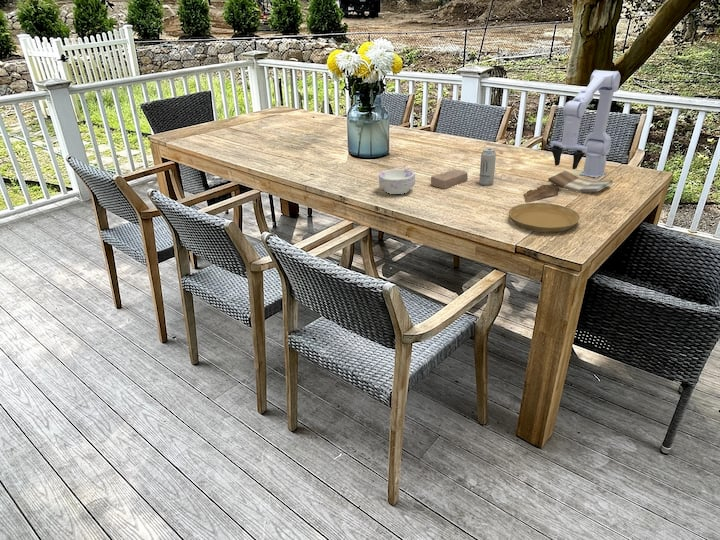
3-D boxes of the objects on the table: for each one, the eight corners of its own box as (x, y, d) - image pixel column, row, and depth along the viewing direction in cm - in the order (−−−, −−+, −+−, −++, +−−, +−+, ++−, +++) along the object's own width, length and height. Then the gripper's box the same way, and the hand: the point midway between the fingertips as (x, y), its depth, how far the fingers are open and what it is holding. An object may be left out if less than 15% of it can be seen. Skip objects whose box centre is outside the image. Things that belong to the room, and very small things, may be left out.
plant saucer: (509, 208, 198) (510, 200, 196) (576, 212, 191) (577, 204, 190) (506, 233, 178) (507, 224, 176) (581, 239, 171) (582, 229, 170)
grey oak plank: (595, 184, 217) (595, 181, 217) (612, 182, 212) (612, 179, 212) (580, 192, 209) (579, 189, 209) (597, 191, 204) (597, 188, 203)
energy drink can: (476, 184, 223) (478, 150, 216) (484, 180, 227) (486, 147, 220) (488, 187, 219) (491, 152, 212) (496, 183, 223) (499, 149, 216)
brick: (453, 177, 234) (454, 167, 232) (468, 181, 228) (469, 170, 226) (429, 186, 224) (430, 176, 222) (444, 190, 219) (445, 180, 217)
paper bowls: (373, 189, 223) (373, 171, 219) (405, 183, 228) (405, 166, 224) (388, 200, 211) (387, 181, 207) (421, 194, 215) (421, 175, 212)
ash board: (579, 180, 222) (579, 177, 222) (595, 183, 218) (595, 180, 217) (563, 188, 214) (563, 185, 213) (579, 192, 209) (579, 189, 209)
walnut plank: (562, 188, 214) (563, 186, 213) (547, 180, 218) (548, 178, 217) (578, 180, 223) (579, 177, 222) (564, 172, 226) (565, 170, 225)
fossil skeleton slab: (547, 183, 221) (547, 181, 220) (571, 189, 213) (571, 187, 213) (511, 199, 207) (511, 196, 206) (535, 206, 199) (535, 203, 199)
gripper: (548, 132, 204) (544, 165, 210) (583, 137, 194) (577, 172, 200) (558, 128, 207) (553, 161, 214) (592, 134, 198) (586, 168, 204)
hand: (565, 167), depth 207 cm, fingers open, 7 cm apart
